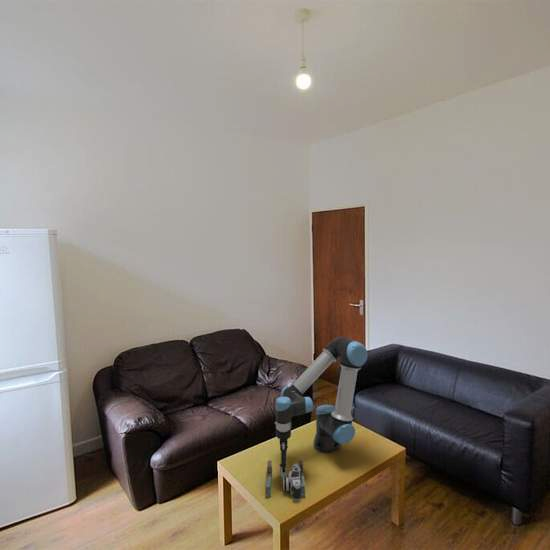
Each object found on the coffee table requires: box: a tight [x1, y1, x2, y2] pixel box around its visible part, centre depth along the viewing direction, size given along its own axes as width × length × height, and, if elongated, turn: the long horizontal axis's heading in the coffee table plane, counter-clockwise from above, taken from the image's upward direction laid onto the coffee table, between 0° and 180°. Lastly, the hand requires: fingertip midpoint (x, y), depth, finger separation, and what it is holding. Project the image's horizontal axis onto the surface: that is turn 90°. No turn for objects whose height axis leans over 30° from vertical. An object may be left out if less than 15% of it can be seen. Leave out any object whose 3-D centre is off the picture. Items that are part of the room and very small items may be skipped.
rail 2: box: [298, 459, 306, 497], centre depth 177 cm, size 2×20×5 cm, turn 179°
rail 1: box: [265, 459, 273, 498], centre depth 177 cm, size 2×20×5 cm, turn 179°
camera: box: [282, 462, 302, 501], centre depth 172 cm, size 16×9×10 cm, turn 179°
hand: (284, 468), depth 183 cm, fingers open, 13 cm apart
